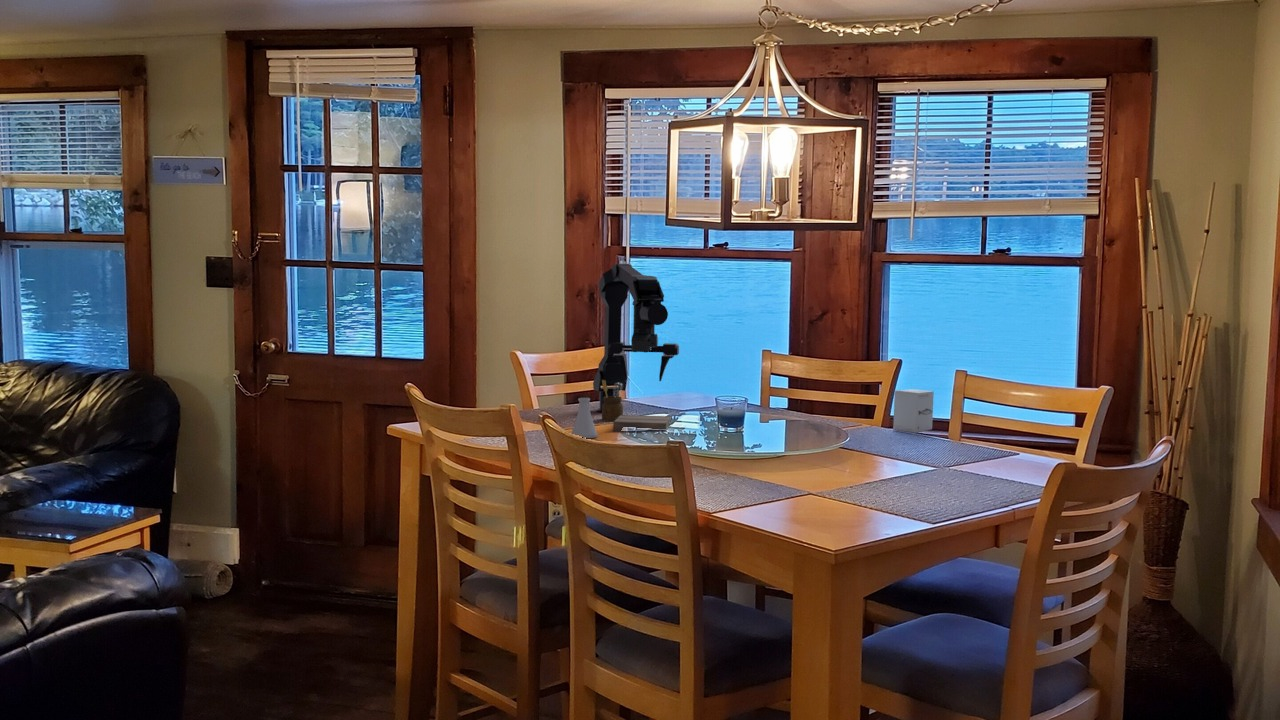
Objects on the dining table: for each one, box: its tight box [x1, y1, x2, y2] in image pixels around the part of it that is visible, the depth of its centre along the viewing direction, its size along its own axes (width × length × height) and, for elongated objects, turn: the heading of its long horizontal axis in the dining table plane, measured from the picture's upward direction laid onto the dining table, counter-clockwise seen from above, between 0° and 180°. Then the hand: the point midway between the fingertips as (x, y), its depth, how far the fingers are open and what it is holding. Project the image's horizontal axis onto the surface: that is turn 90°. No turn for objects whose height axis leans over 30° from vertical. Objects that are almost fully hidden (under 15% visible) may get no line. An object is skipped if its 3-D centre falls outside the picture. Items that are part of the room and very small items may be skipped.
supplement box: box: [892, 388, 934, 434], centre depth 296 cm, size 7×7×13 cm
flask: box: [571, 397, 598, 439], centre depth 293 cm, size 7×7×10 cm
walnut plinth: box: [612, 414, 672, 432], centre depth 310 cm, size 14×14×2 cm
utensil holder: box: [601, 380, 624, 422], centre depth 321 cm, size 6×6×12 cm
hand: (643, 380), depth 310 cm, fingers open, 9 cm apart
